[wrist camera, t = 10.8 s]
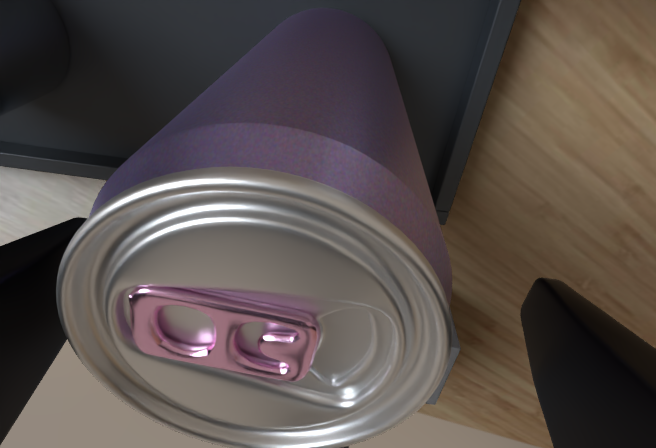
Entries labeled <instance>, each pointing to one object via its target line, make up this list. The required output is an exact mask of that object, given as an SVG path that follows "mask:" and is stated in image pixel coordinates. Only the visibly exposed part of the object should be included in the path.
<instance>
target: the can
mask: <svg viewBox="0 0 656 448" xmlns="http://www.w3.org/2000/svg"><path fill="white" fill-rule="evenodd" d="M69 62H70V45H69V39H68V35H67V31H66V28H65V25H64V23H63V20H62V18H61V16H60V14H59V12H58V10H57V8H56V7H55V5H54V3H53V2H52V0H0V116H1V115H4V114H6V113H8V112H10V111H12V110H14V109H16V108H19V107H21V106H23V105H25V104H27V103H29V102H31V101H34V100H36V99H38V98H40V97H42V96H44V95H46V94H49V93H50V92H52V91H53V90H55V89H56V88H57V87H58V86H59V85H60V84H61V83H62V81H63V80H64V78H65V76H66V74H67V71H68V67H69Z"/></svg>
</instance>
